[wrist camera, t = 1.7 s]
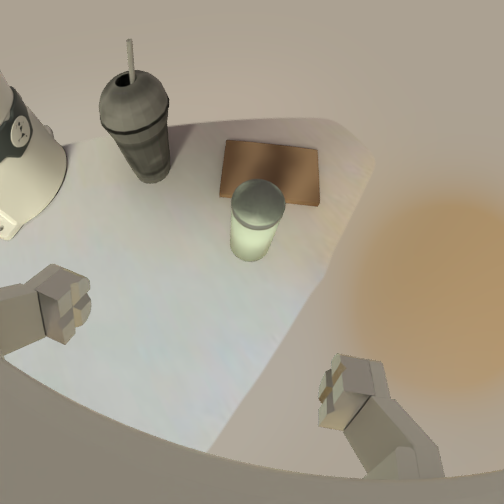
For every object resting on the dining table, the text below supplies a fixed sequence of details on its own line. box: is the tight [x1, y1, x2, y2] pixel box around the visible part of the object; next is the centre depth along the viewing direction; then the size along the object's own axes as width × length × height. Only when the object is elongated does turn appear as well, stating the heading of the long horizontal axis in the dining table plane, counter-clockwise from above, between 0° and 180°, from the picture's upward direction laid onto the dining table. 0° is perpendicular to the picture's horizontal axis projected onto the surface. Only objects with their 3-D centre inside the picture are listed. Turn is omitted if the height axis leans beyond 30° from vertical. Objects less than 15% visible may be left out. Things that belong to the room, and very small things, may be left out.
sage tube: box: [230, 179, 285, 262], centre depth 32 cm, size 5×5×10 cm
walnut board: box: [219, 140, 320, 207], centre depth 39 cm, size 12×8×1 cm, turn 86°
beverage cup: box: [99, 39, 170, 184], centre depth 29 cm, size 7×7×20 cm
